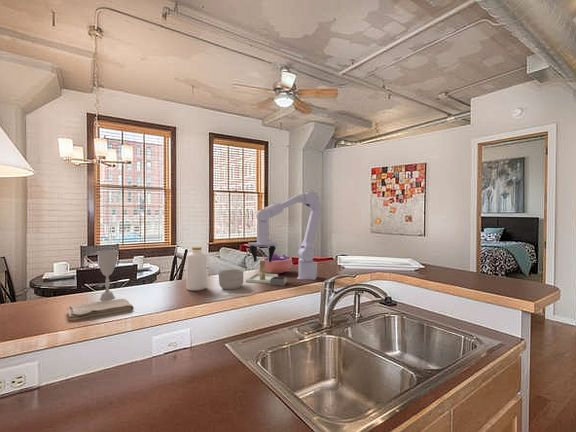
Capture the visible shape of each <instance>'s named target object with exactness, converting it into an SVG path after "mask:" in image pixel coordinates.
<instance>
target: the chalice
mask: <svg viewBox="0 0 576 432" xmlns="http://www.w3.org/2000/svg"><path fill="white" fill-rule="evenodd" d="M117 253H118V250H116V249H113V250H112V249H108V250H99V251H96V254H97V258H98V260H97V261H98V262H97V263H98V264H97V265H98V268H99V270H100V272H101V273H102V275H103V276H105V280H104V281H105V285H104V287H105V291H104V292H102V293H101V295H100V297H99V300H101V301H106V300H107V301H108V300H114V299H115V298H116V297H115V296H114V292H113V291H111V290H110V289H109V288H110V286H111V284H110V281H111V280H110V278H109V277H110V276H111V275H112V274H113V272H114V270H115V269H116V265H117Z"/></svg>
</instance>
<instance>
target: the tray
mask: <svg viewBox="0 0 576 432" xmlns="http://www.w3.org/2000/svg"><path fill="white" fill-rule="evenodd" d="M273 277H279V274H270V273H265V280H260V272H258V273H257V272H255V273H253V274H252V275H250V276H249V277H247V278H245V280H244V281H245V283H253V284H254V283H256V284H257V283H258V284H270V279H271V278H273Z"/></svg>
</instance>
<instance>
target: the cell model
mask: <svg viewBox="0 0 576 432" xmlns="http://www.w3.org/2000/svg"><path fill="white" fill-rule="evenodd" d="M262 260H264V261H265V272H267V274H278V275H280V274H283V273H285V272H287V271H288V270H290V269H291V267H292V263H293V262H292V261H293V259H292V257H290V256H287V255H286V254H282V256H280V255H278V254H276V253H275V252H274V253H273V257H272V262H269V256H264V257H262V258H260V259H259V262H260V261H262Z"/></svg>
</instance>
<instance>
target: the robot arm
mask: <svg viewBox="0 0 576 432" xmlns="http://www.w3.org/2000/svg"><path fill="white" fill-rule="evenodd" d="M297 203H299V204H300V203H303V204H304V205H305V206H306V207H307V208H308V209H309V211H310V214H309V216H308V221H307V226H306V229H305V233H304V237H303V238H304V239H303V241H302V242H301V245H300V247H299V248H298V250H297V256H298V270H297V271H298V276H297V277H296V279H297V280H314V281H315V280H317V277H318V262H317V261H314V259H315V252H314V251H315V245H314V242H315V237H316V234H317V231H318V230H317V229H318V226H319V221H320V218H321V213H322V206H321V203H320V196H319V195H318V194H317V193H316V192H315V191H313V190H310V191H305V192H302V193H299V194H296V195H293V196H291V197H290V198H288V199H287V200H284V201H282V202H279V201H277V202H275V201H273V202H272V204H270V205H268V206H264V207H263V208H262V209H259V210H258V211H257V212H256V215H255V218H256V219H257V220H256V223H257V224H256V242H255V241H254V242H250V241H249V242H247V247H249V250H250V252H251V254H252V258H253V262H255V263H256V262H257V261H258V259H257V257H258V256H257V252H258V247H259V248H261V247H264V248H268V257H269V262H272V257H273V253H274V254H275V252H276V251H275V250H276V248H278V242H270V241H269V240H270V239H269V237H270V233H269V231H270V230H269V229H270V227H269V219H271V218H274V217H275V216H278V215H280V214H282V213H283V212H284V209H286V208H288V207H290V206H293V205H295V204H297Z"/></svg>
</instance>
